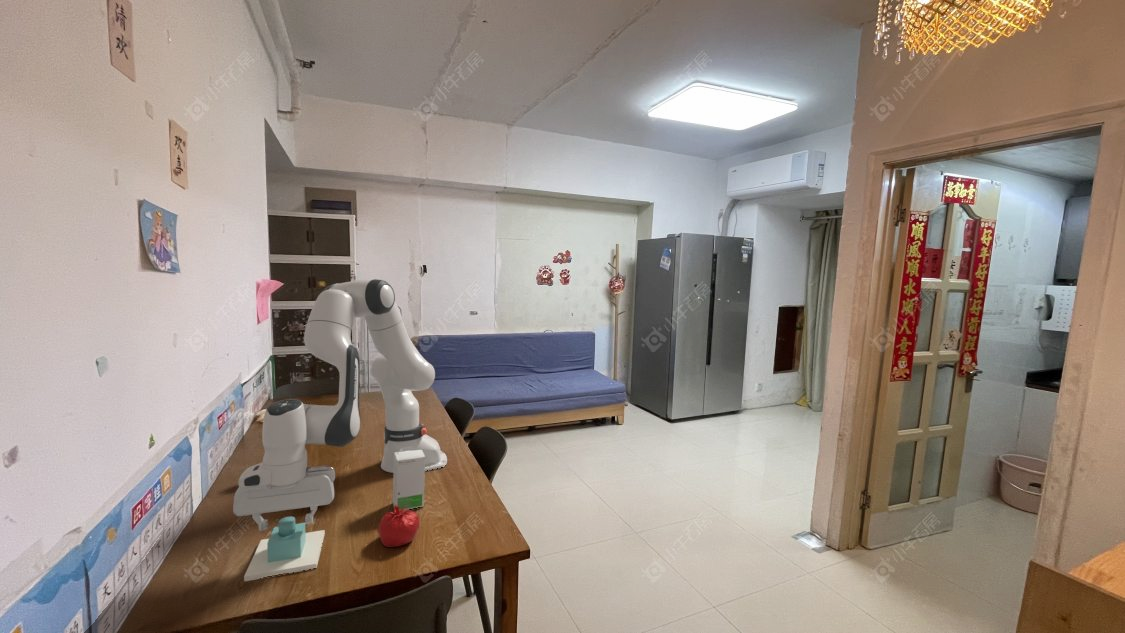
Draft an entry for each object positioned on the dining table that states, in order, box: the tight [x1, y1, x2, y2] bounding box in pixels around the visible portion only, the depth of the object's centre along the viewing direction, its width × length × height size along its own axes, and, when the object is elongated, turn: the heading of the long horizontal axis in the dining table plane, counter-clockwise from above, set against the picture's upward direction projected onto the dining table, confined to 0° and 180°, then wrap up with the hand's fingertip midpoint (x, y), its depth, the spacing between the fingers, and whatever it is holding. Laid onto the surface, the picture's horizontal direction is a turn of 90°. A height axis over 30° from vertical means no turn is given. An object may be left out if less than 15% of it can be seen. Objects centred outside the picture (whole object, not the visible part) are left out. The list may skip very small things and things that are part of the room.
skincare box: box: [392, 450, 426, 510], centre depth 130 cm, size 8×7×16 cm
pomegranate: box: [377, 505, 420, 548], centre depth 114 cm, size 10×10×9 cm
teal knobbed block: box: [267, 516, 307, 563], centre depth 106 cm, size 7×7×8 cm
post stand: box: [243, 529, 326, 582], centre depth 106 cm, size 14×14×5 cm
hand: (286, 525), depth 105 cm, fingers open, 8 cm apart
